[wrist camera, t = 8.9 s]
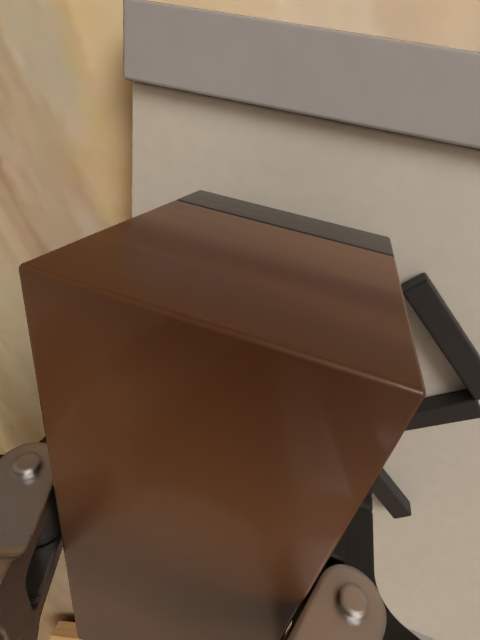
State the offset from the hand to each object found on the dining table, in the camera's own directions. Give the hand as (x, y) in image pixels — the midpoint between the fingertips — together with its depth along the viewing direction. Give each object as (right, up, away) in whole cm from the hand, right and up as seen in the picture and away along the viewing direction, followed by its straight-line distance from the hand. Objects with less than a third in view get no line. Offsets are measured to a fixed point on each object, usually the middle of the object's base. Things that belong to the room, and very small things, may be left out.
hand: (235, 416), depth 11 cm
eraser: (0, +1, +1) cm, 1 cm away
